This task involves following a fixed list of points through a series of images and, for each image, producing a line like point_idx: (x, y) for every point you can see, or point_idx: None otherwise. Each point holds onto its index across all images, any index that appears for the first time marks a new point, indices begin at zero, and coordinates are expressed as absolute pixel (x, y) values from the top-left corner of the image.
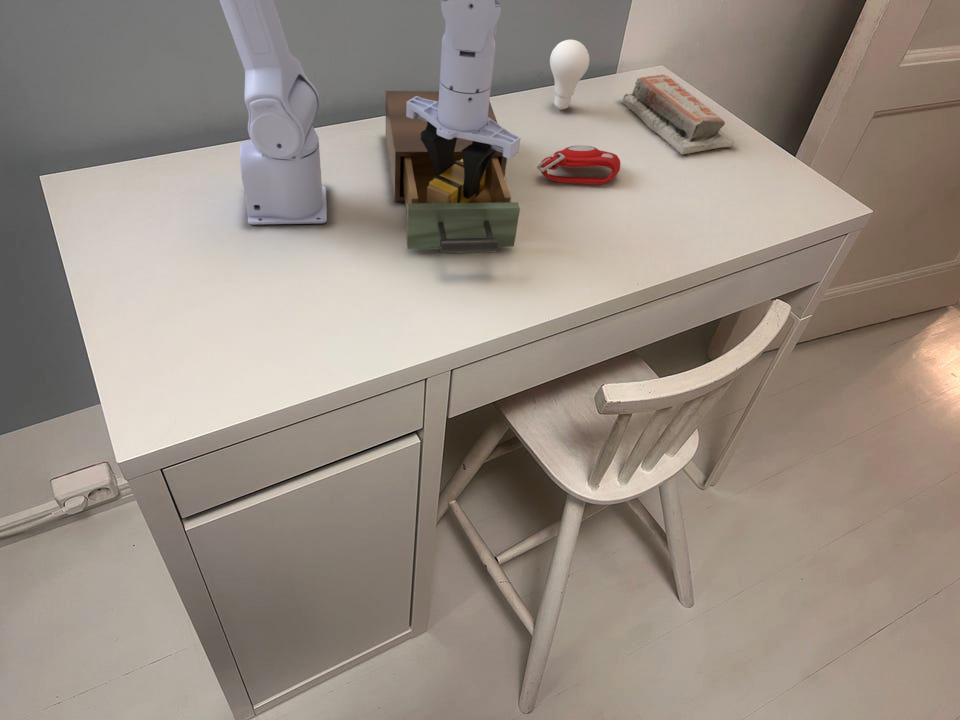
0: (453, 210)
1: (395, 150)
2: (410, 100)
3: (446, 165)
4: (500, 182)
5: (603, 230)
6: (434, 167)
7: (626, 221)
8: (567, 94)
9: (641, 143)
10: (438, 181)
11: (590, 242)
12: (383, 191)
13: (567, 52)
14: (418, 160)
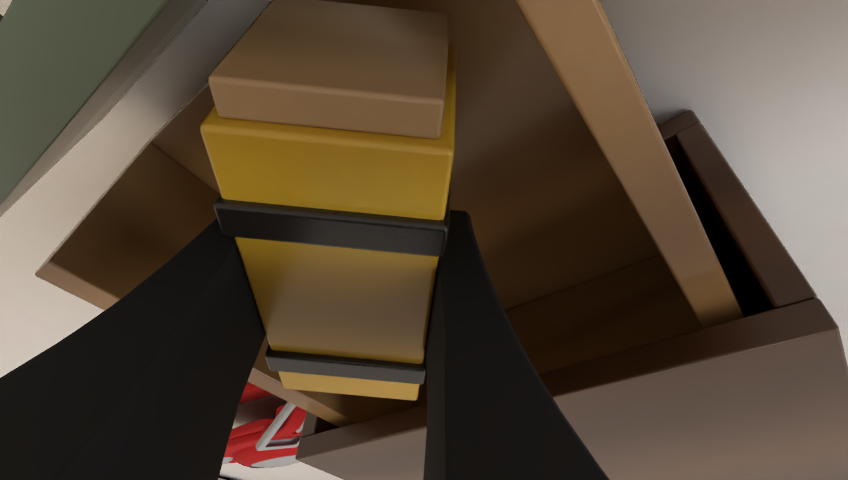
0: None
1: (838, 336)
2: None
3: (434, 340)
4: None
5: (53, 292)
6: (486, 300)
7: (62, 333)
8: None
9: (261, 470)
10: (393, 197)
11: (14, 242)
12: (760, 148)
13: None
14: (651, 322)
